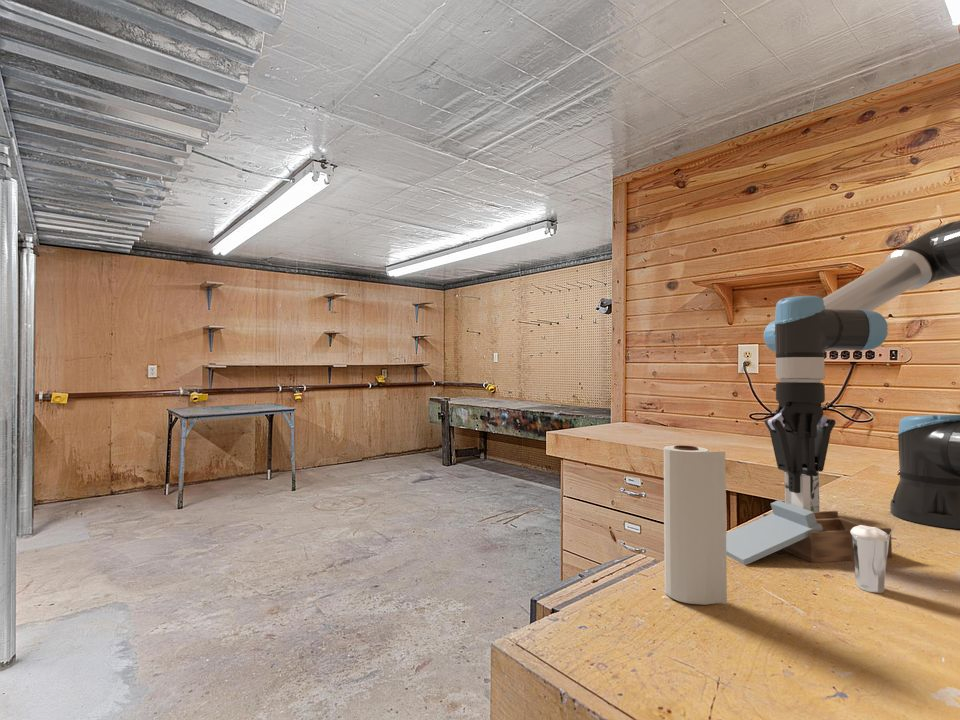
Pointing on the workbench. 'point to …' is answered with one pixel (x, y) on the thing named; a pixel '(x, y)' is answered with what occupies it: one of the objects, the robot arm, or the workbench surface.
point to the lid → (770, 532)
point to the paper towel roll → (695, 525)
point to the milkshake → (870, 557)
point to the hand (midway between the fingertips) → (800, 510)
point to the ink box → (813, 495)
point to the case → (829, 540)
